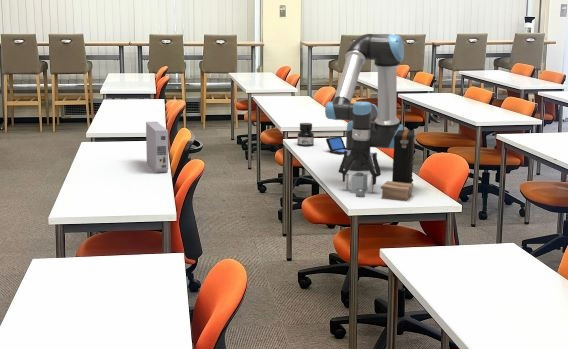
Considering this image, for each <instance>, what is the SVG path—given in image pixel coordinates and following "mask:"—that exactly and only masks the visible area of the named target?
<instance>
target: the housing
mask: <svg viewBox="0 0 568 349" xmlns="http://www.w3.org/2000/svg"><path fill="white" fill-rule="evenodd" d="M350 180H351V184H350V192H349V193H350V194H356V189H358V188H362V189H365V192H366V191H368V189H369V188H368V173H363V172H355V173H354V174H353V175H351V179H350Z"/></svg>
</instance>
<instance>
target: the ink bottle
mask: <svg viewBox="0 0 568 349" xmlns="http://www.w3.org/2000/svg"><path fill="white" fill-rule="evenodd" d="M314 135H315V133H314V132H313V123H311V122H300V123H299V131H298V133H297V145H298V146H299V147H312V146H314V143H315V142H314V138H315V136H314Z"/></svg>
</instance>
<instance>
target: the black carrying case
mask: <svg viewBox="0 0 568 349" xmlns="http://www.w3.org/2000/svg"><path fill="white" fill-rule="evenodd" d="M415 133H416V132H415V130H414V129H407V128H405V129H403V130H398V131H397V133H396V135H395V136H394V149H393V158H392V160H393V161H392V178H391V180H392V181H393V182H403V183H413V182H414V178H413V169H414V167H413V166H414V160H415V157H414V152H415V138H416V135H415Z"/></svg>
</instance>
